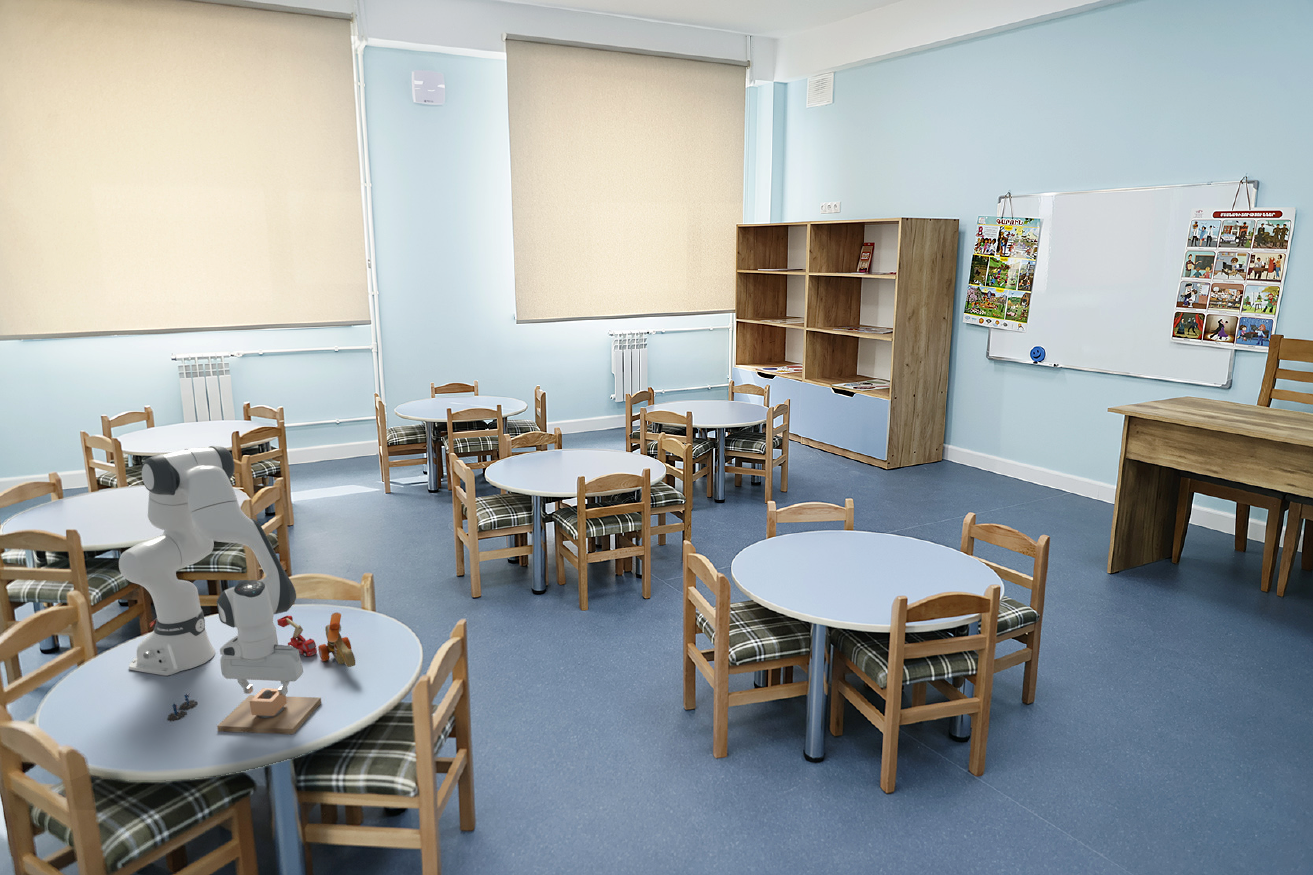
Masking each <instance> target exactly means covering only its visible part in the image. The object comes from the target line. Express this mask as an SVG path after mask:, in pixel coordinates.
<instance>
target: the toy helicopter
mask: <svg viewBox="0 0 1313 875" xmlns="http://www.w3.org/2000/svg"><path fill="white" fill-rule="evenodd" d="M341 618H342V613H340V612H334V613H331V615H330V622H329V624H328V625H326V626H325V628H324V629H325V630H324V631H325V636H326V640H327V642H326V643H327V644H326V643H323V644H319V646H318V649H317V651H318V654H319V658H320V659H321V661H322V662H326V661H329V660H330V658H331V656H330V653H331V654H332V655H333V657H334V659H336V661H337V663H338V665H343V664H345V665H346V667H347V668H352V667H354V666H356V657H355V654H354V652H353V651H352V645H351V640H350V639H349V637H348V636H344V637H342V636H341V631H342V625H341Z"/></svg>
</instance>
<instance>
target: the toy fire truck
mask: <svg viewBox="0 0 1313 875" xmlns="http://www.w3.org/2000/svg"><path fill="white" fill-rule="evenodd" d="M293 619H294V618H293V616H292V615H285V616H283V617H281V618H277V621H276V622H277V625H278V627H279V626H280V627H281V628H285V627H287V626H291V627H293V628H294V631H293V634H292V637H291V638H290V641H289V642H287V645H291V646H293V647H294V648H296V649H297V650H298V651H299V655H303V656H304V657H311V656H313V655H315V654H317V653H318V649H317V644H316V641H315V640H314V639H312V638H309V639H307V640H306V638H305V637H304V636H303V634H302V633H303V631H304V629H303V627H302V626H301V624H300V625H299V624H297V623H295V621H293Z"/></svg>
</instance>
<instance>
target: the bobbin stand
mask: <svg viewBox="0 0 1313 875" xmlns="http://www.w3.org/2000/svg"><path fill="white" fill-rule="evenodd" d="M255 695H256V694H255ZM255 695H251V694H250V695H249V694H248V696H247V697H246V698H245V699H244V700H243V701H242V702H241V703H240V704H239V705H237V706H236V707H235V709H233V710H232V712H230V713H229V714H228V715H227V716H226V717H225V718H224V719H223V720H221V721H220V722H219V724H217V725H216V727H217V728H216V729H217V732H228V733H231V732H232V733H233V732H234V733H251V734H252V733H255V734H256V733H257V734H280V735H285V734H286V735H295V733H296V732H297V731H298V730H299V729H300V728H301V727H302V725H303V724H304V723H305V721H307V720H308V719H309V717H310V716H311V715H312V714H313V713H314V712H315V710H317V708H318V707H319V706H320V705H321V704H322V698H321V697H315V696H314V697H311V696H310V697H307V696H286V701H287V703H286V704H285V705H284V706H283V707H282V708H281V709H280V710H279V711H278V712H277V713H276V714H275V715H274V716H264V715H252V713H251V708H250V702H249V701H250V700H251V699H252V698H253V697H254V696H255ZM272 696H273V695H272V691H271V690H265V691H264V692H263V699H270V698H271V697H272Z"/></svg>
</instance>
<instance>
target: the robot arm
mask: <svg viewBox="0 0 1313 875" xmlns="http://www.w3.org/2000/svg"><path fill="white" fill-rule="evenodd" d="M235 466H236V465H235V460H234V457H233V454H232V453H231V451H229V450H228V448H226V447H224V446H217V445H216V446H215V445H212V446H208V447H191V448H185V449H183V450H176V451H171V452H168V453H165V454H164V453H163V454H159V453H158V454H156V455H153V456H150V457H148V458H146V459H145V460H144V462H143V463H142V466H141V479H142V482H143V485H144V487H145V489H146V490H147V491H148V505H147V518H148V521H149V523H150V524H151V525H152V526H153V527H155V529H159V530H162V531H163V533H162V534H160V535H159V536H156V537H153V538H150V539H147V540H144V541H142V542H138V543H136V544H135V545H133V546H131V547H130V548H128V549H126V550H125V551H123V552H122V553H121V554H120V557H119V559H118V568H119V572H120V573H121V575H122V577H124V579H125V580H127V581H128V582H131V583H133V584H137V585H139V586H141V587H143V588H144V589H146V591H147V592H148V593H149V594H150V596H151V600H152V601H153V606H154V608H155V613H156V618H154V620H153V621H151V622H150V623H149V625H150V626H149V627H150V628H152V627H153V626H154V628H153V631H152V632H150V633H149V634H148V635H147V636H145V638H144V639H143V640H141V641H140V642H139V644H138V646H137V647H136V657H134V658H133V659H132V660H131V662H129V665H128V670H130V671H135V672H142V673H146V674H147V673H148V674H155V675H159V676H171V675H174V674H176V673H179V672H182V671H187V670H189V669H193V668H196V667H198V666H201V665H203V664H206V663H207V662H208V661H209V660H212V659H213V658H214V656H215V654H216V651H215V649H214V647H213V645H212V643H211V641H210V638H209V636H208V633H207V630H206V623H205V622H206V619H205V616H204V611H203V609H202V608H201V601H200V596H199V591H198V588H197V587H196V585H195V584H194V583H192V582H190V581H189V580H184V579H178V577H177V574H176V573H177V571H179V570H182V569H184V568H186V567H188V566H191V565H194V564H196V563H198V562H200V561H201V560H203V559H204V558H206V557H208V556H209V555H210V554H211V553H212V551H214V546H215V545H214V542H221V543H228V544H229V543H233V544H240V545H244V546H246V547H248V548H249V549H250V550H251V551H252V552H253V554H254V556H255V557H256V560H257V561H258V564H259V565H260V567H261V569H262V572H263V573H264V575H265V577H264V578H262V579H258V580H256V579H253V580H252V579H251V580H249V579H248V580H245V581H242V582H240V583H238V584H237V585H235V586H232V587H229V588H227V589H224V590H223V591H222V592H221V593H220V595H219V596H218V598H217V600H216V606H217V614H218V618H219V621H220V622H221V624H224V625H226V626H228V627H231V628H233V629H234V628H236V630H237V635H235V636H233V638H230V640H228V641H227V642H225V643H224V644H223V645H222V646H221V647H220V649H219V652H220V656H221V657H220V659H219V662H220V663H219V664H220V670H221V675H222V677H224V678H225V679H227V680H231V679H232V680H236V681H237V683H238V685H239V686H240V687H241V688H242V689H243V694H246V695H247V694H248V695H249V694H250V695H251V694H252V692H254V686H253V684H250V683H249V681H250V680H251V681H275V682H280V685H281V686H280V687H279V688H277V689H278V692H279V695H287V694H288V693H289V691H288V686H289V685H290V682H296V681H297V680H299V679H300V678H301V676H303V673H304V668H303V665H302V664H303V663H302V659H301V657H300V653H299V651H298V650H297V649H296V648H294V647H293V646H291V645H288V644H286V645H282V644H279V641H278V640H279V638H278V634H277V628H276V625H275V624H274V616H275V615H277V614H282V613H287V612H288V611H289V610H290V609H291V608H292V607H293V605H294V603H295V602H296V600H297V593H296V591H297V590H296V587H295V586H294V584H293V582H292V580H291V579H290V577H289V576H288V574H287V572H286V571H285V569H284V567H283V565H282V564H281V563H282V562H281V561H280V560H279V557H278V555H277V554H276V551H275V550H274V549H275V548H273V546H272V544H271V542H270V540H269V537H268V536H267V534H266V533H265V532H266V531H265V530H264V529H263V527H262V526H261V524H260V523H259V522H258V521H257V519H254V518H251V517H249V516H248V515H246V514H245V512H244V511H243V510H242V508H241V506H240V504H239V501H238V498H237V495H236V492H235V490H234V487H233V485H232V482H231V478H232V477H233V475H234V474H235V468H236V467H235ZM248 680H249V681H248Z"/></svg>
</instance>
